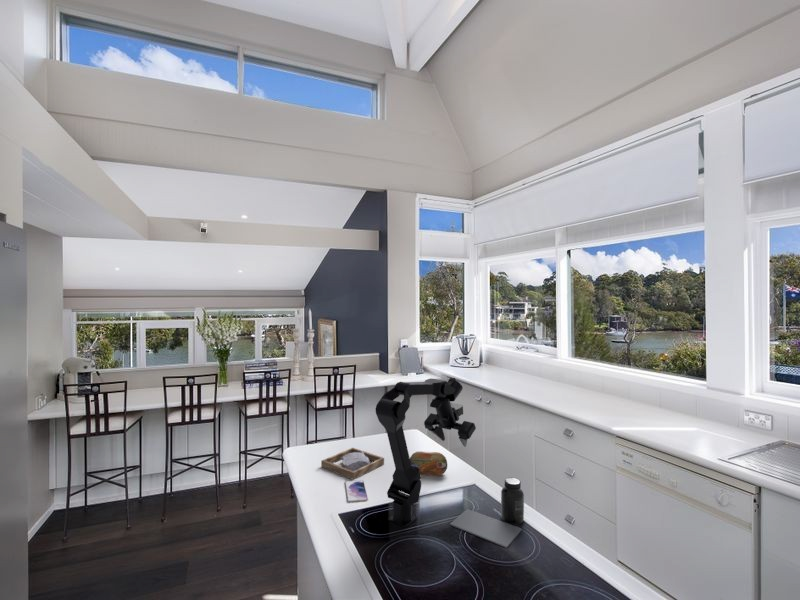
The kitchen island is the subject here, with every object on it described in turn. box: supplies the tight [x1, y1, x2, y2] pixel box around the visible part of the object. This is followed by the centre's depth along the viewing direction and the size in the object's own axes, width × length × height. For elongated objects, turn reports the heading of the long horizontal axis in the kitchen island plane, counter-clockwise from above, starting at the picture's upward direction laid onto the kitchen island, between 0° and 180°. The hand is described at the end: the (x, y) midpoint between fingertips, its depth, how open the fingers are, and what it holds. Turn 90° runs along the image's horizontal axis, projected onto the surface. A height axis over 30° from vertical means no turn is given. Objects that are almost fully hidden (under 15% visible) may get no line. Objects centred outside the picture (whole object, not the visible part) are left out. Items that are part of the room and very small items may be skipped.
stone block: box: [342, 451, 370, 471], centre depth 165 cm, size 12×5×10 cm
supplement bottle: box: [500, 477, 525, 526], centre depth 125 cm, size 7×7×12 cm
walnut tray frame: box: [320, 447, 385, 481], centre depth 164 cm, size 18×18×2 cm
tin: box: [409, 451, 448, 477], centre depth 157 cm, size 15×3×8 cm, turn 82°
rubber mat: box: [449, 508, 522, 549], centre depth 121 cm, size 11×18×1 cm, turn 52°
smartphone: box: [344, 479, 369, 504], centre depth 143 cm, size 7×1×15 cm
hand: (454, 443), depth 148 cm, fingers open, 9 cm apart
